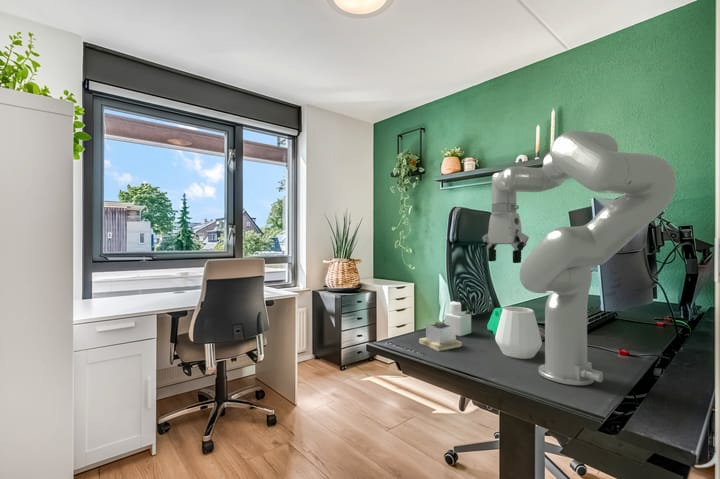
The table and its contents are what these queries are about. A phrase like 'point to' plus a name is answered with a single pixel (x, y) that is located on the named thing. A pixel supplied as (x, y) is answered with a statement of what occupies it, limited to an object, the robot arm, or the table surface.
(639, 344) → the table surface
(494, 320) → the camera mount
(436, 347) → the post block
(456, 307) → the medicine bottle
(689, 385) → the table surface
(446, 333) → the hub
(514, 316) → the cup
